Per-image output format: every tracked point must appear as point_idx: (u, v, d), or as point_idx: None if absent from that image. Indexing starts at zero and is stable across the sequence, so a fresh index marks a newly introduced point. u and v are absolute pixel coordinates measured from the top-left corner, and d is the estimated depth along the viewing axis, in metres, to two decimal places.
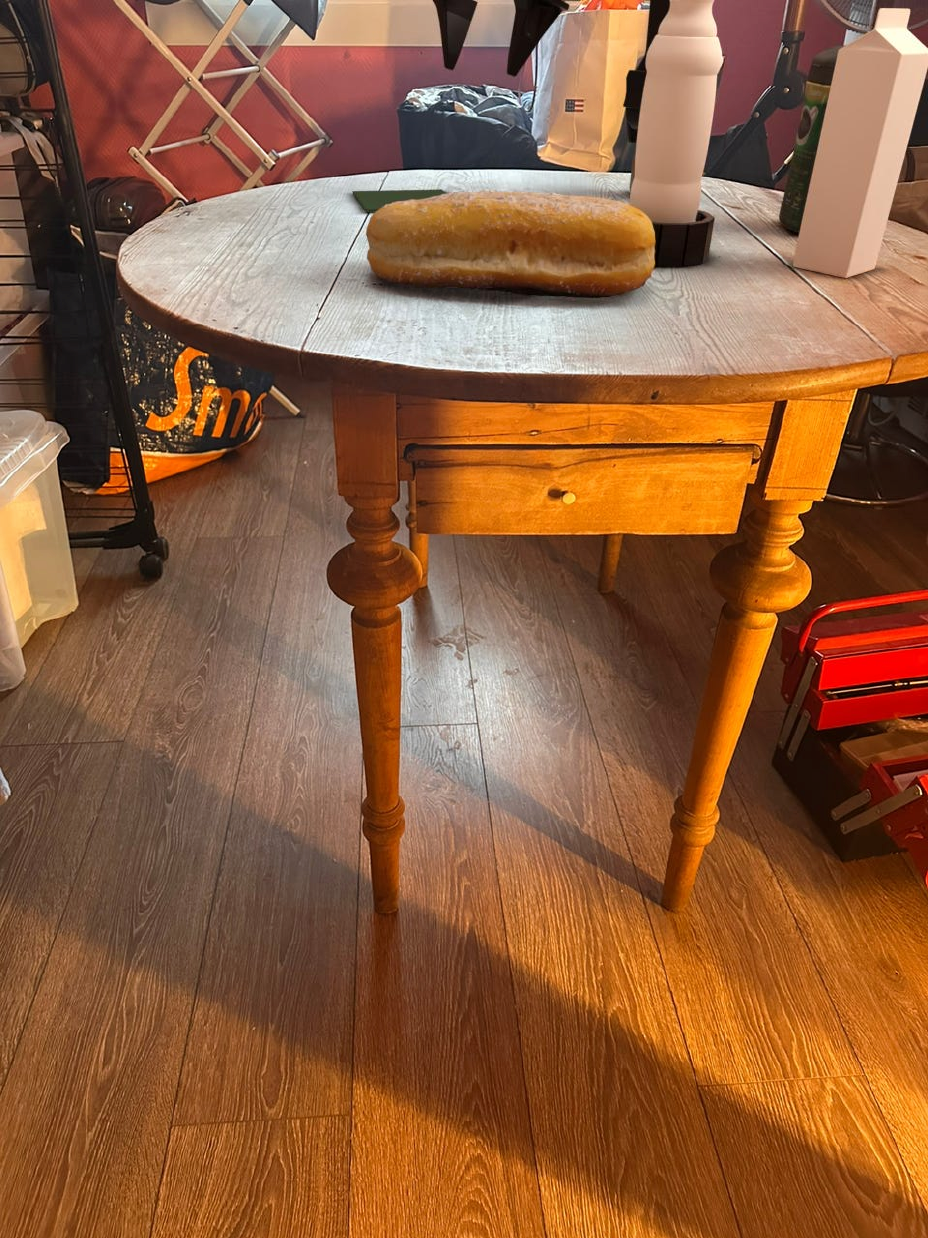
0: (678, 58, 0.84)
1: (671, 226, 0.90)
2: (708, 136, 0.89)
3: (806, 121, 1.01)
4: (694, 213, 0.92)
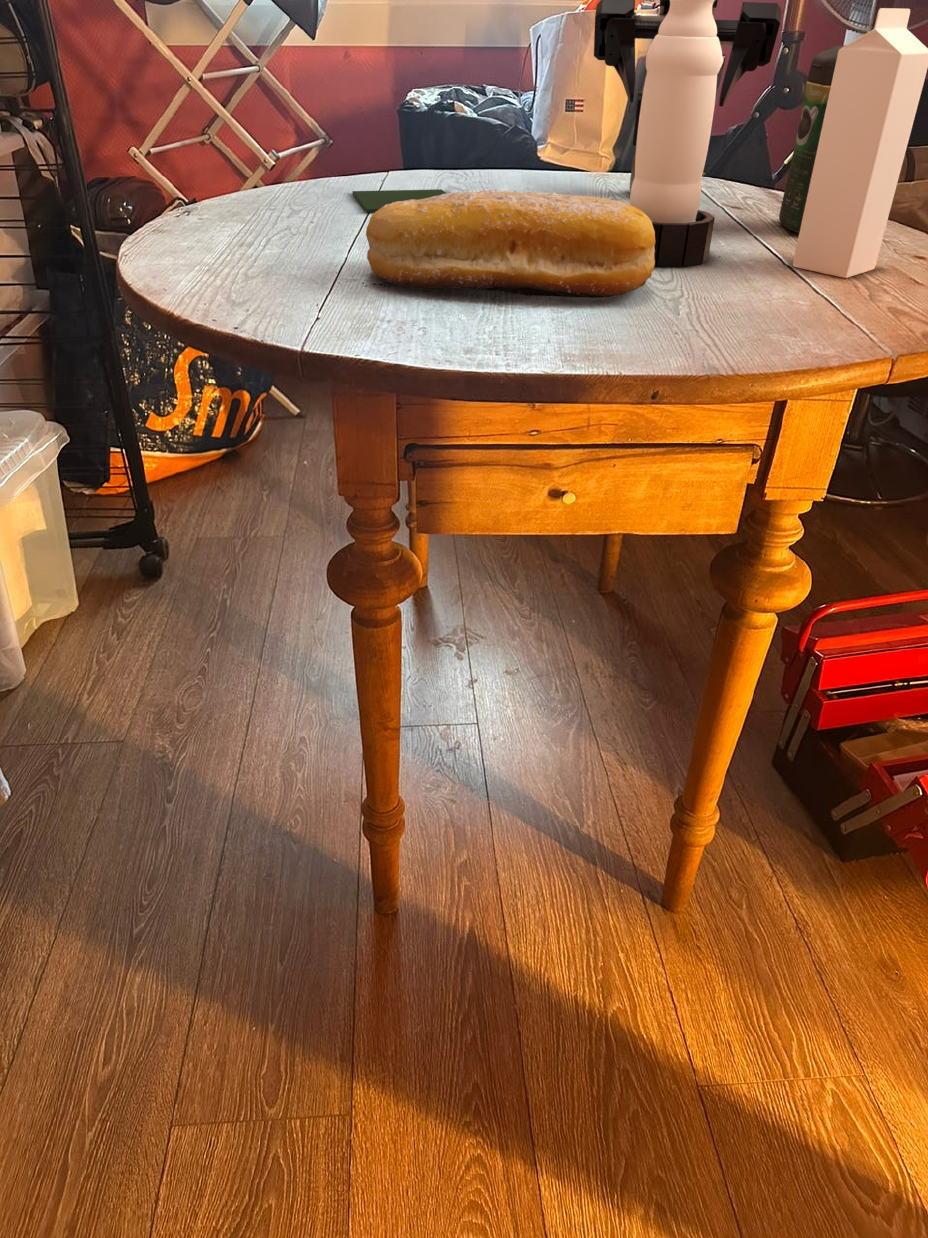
0: (679, 58, 0.84)
1: (671, 226, 0.90)
2: (708, 136, 0.89)
3: (806, 121, 1.01)
4: (694, 213, 0.92)
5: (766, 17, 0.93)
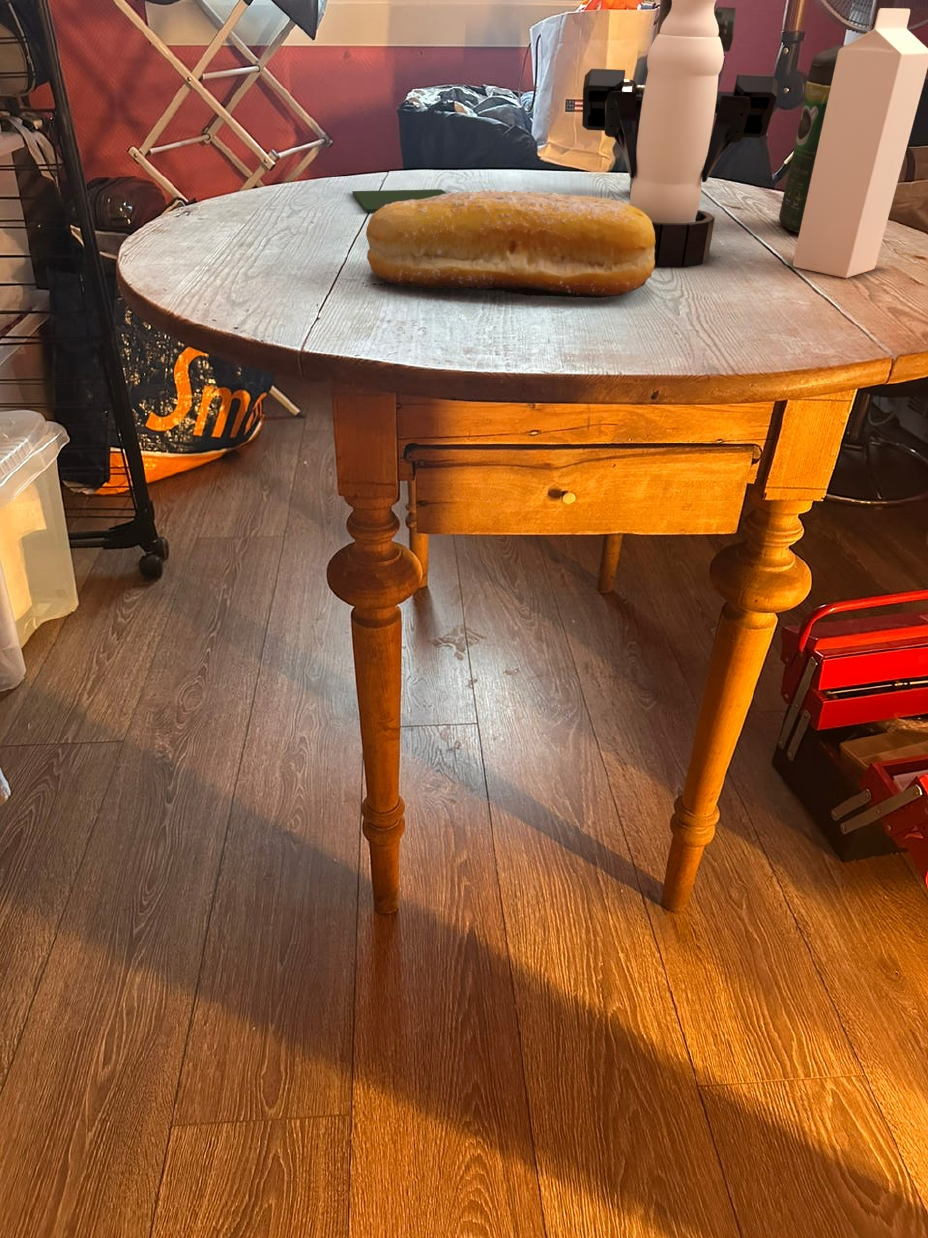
0: (680, 58, 0.84)
1: (671, 226, 0.90)
2: (709, 136, 0.89)
3: (806, 121, 1.01)
4: (694, 213, 0.92)
5: (762, 91, 0.88)
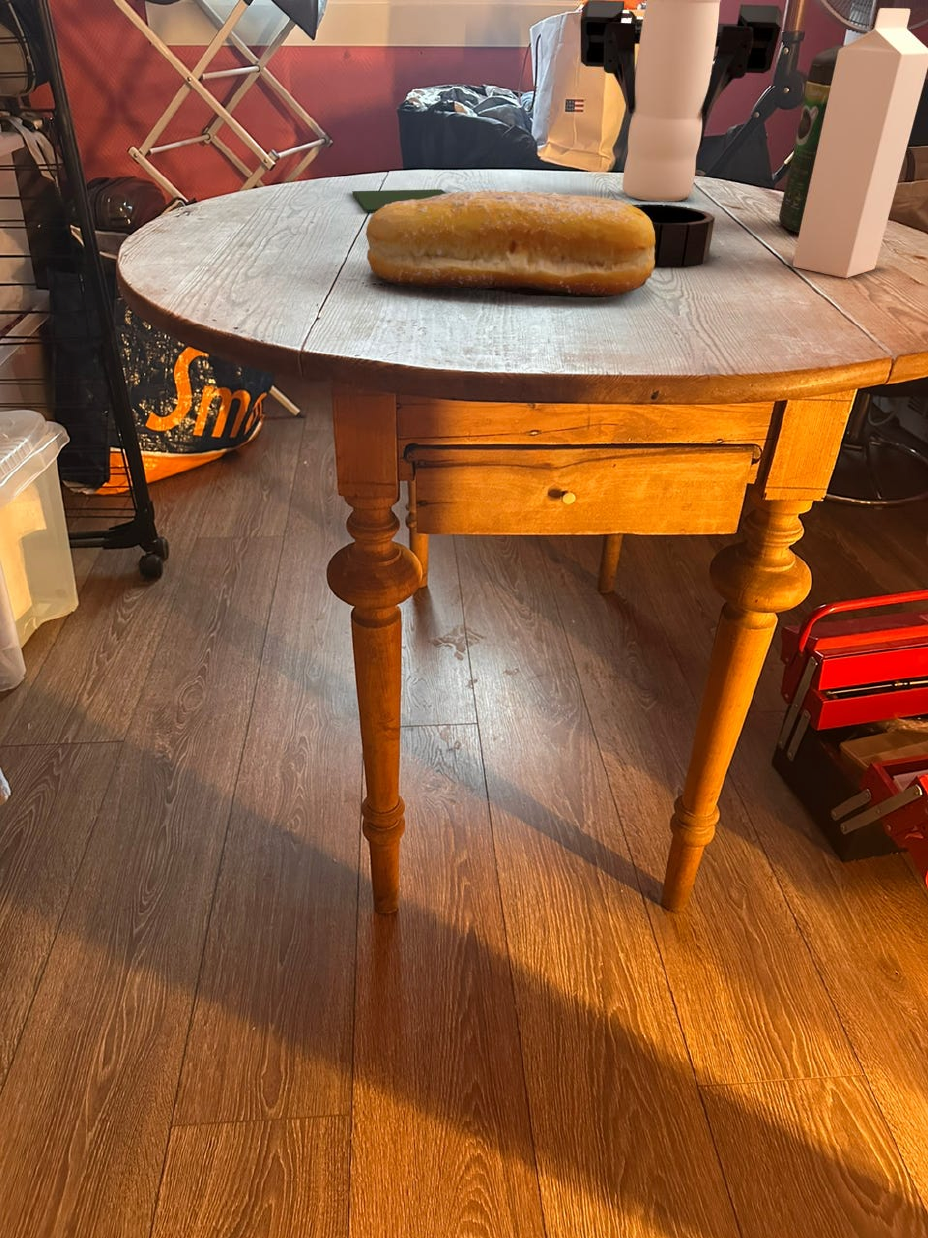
0: None
1: (671, 226, 0.90)
2: (709, 68, 0.86)
3: (806, 121, 1.01)
4: (694, 151, 0.89)
5: (765, 20, 0.85)
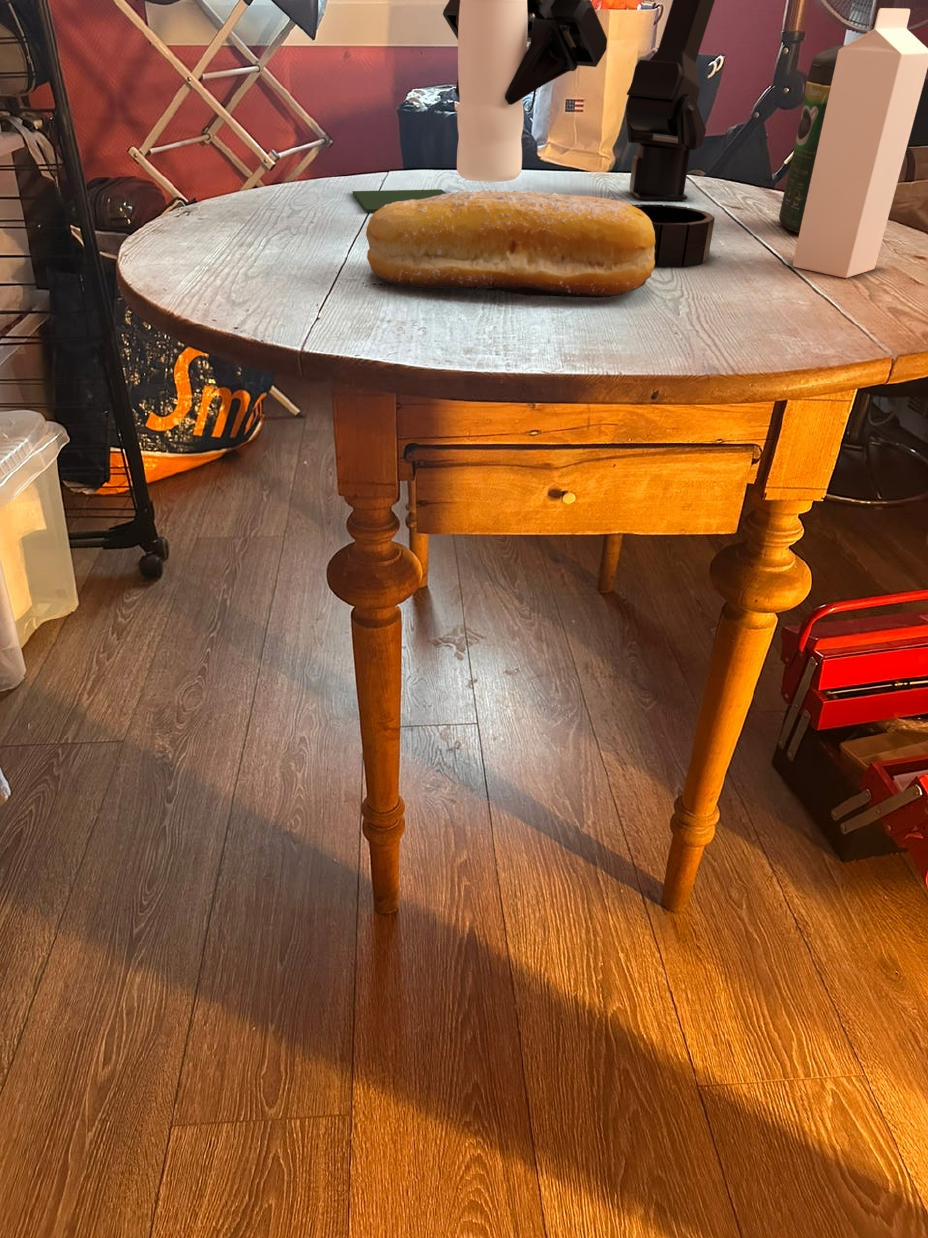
0: None
1: (671, 226, 0.90)
2: (509, 58, 0.92)
3: (806, 121, 1.01)
4: (502, 135, 0.95)
5: (565, 14, 0.89)
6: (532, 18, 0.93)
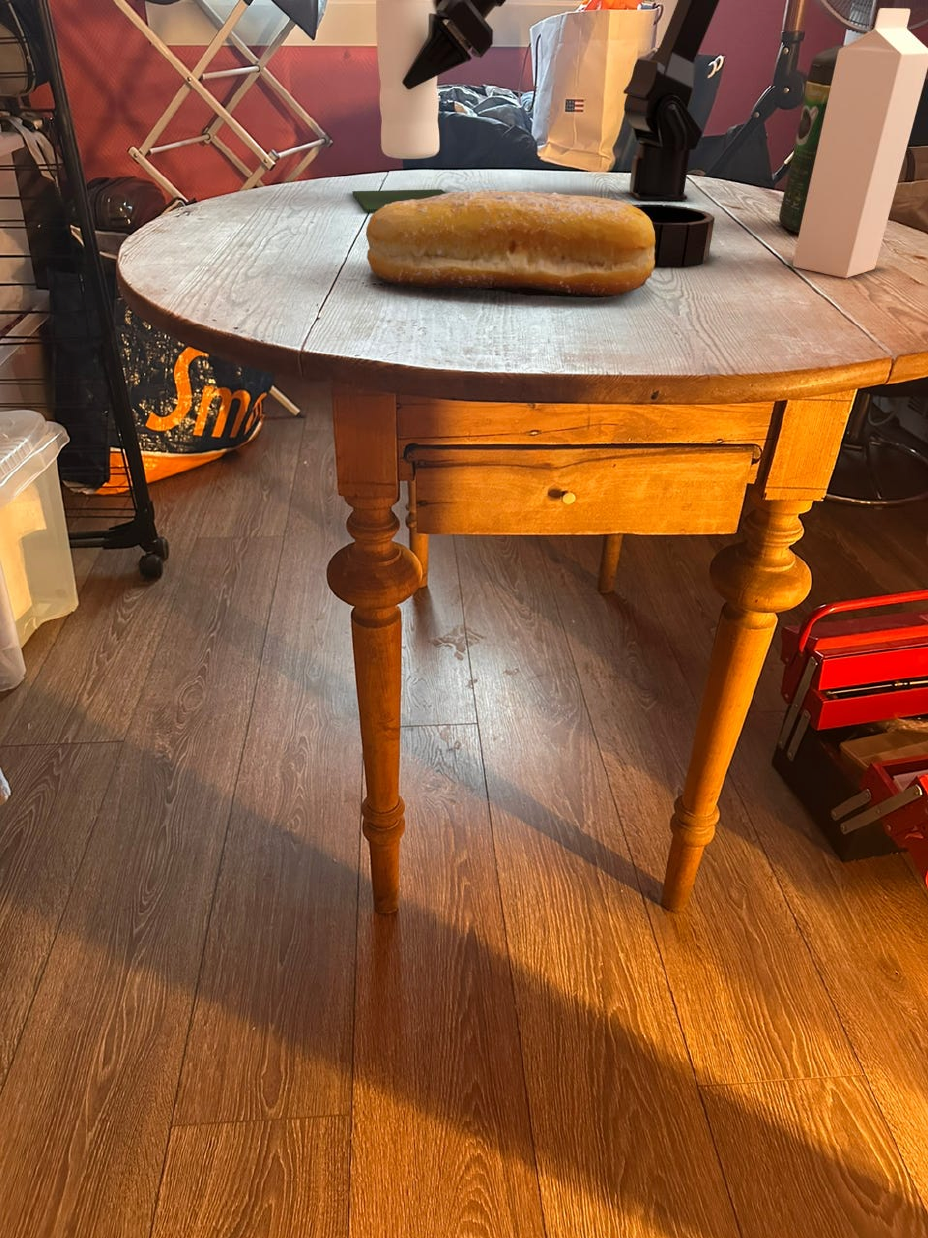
0: None
1: (671, 226, 0.90)
2: (405, 47, 1.03)
3: (806, 121, 1.01)
4: (403, 117, 1.07)
5: (441, 8, 0.98)
6: None
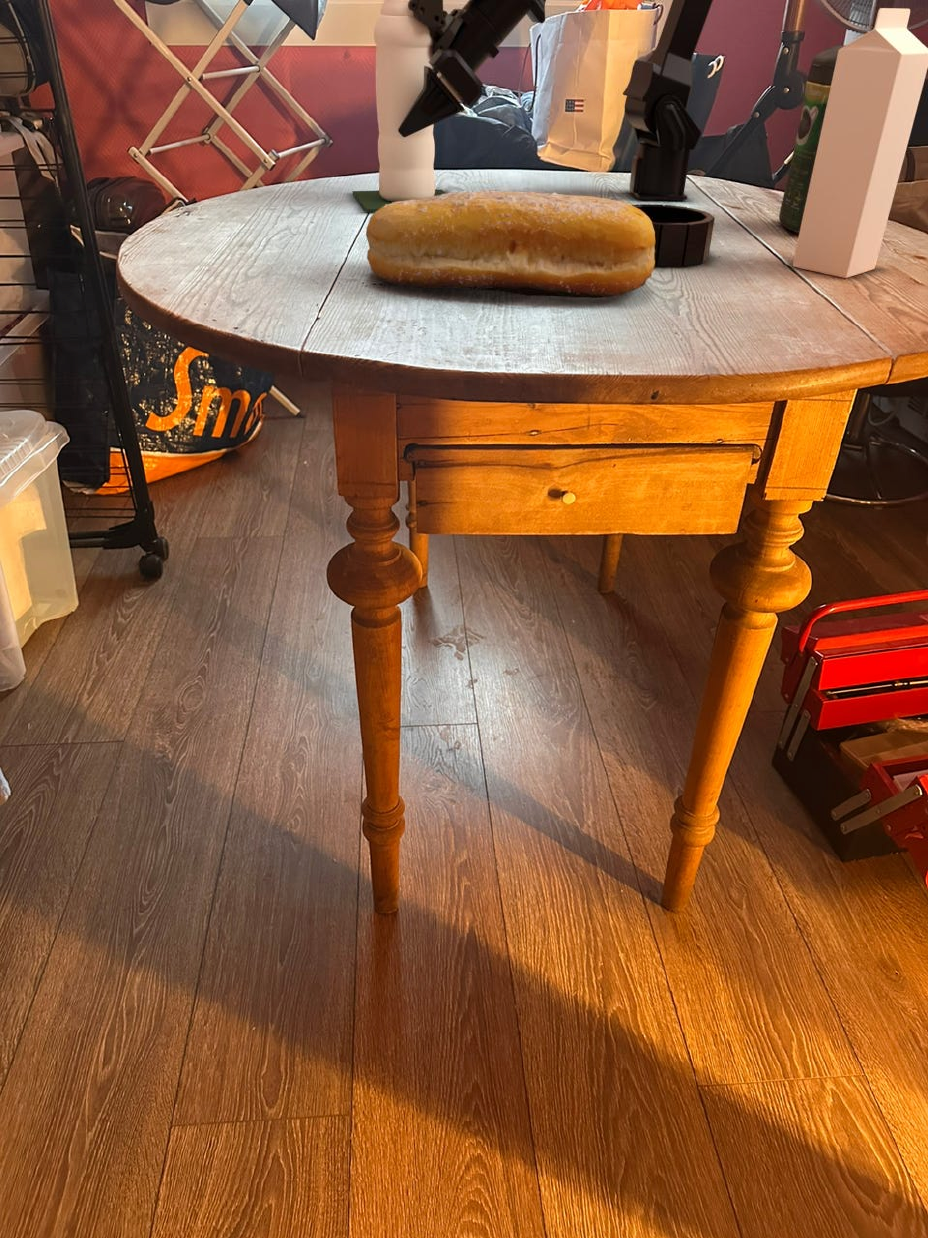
0: (374, 32, 1.06)
1: (671, 226, 0.90)
2: (402, 98, 1.08)
3: (806, 121, 1.01)
4: (399, 163, 1.12)
5: (432, 62, 1.02)
6: None
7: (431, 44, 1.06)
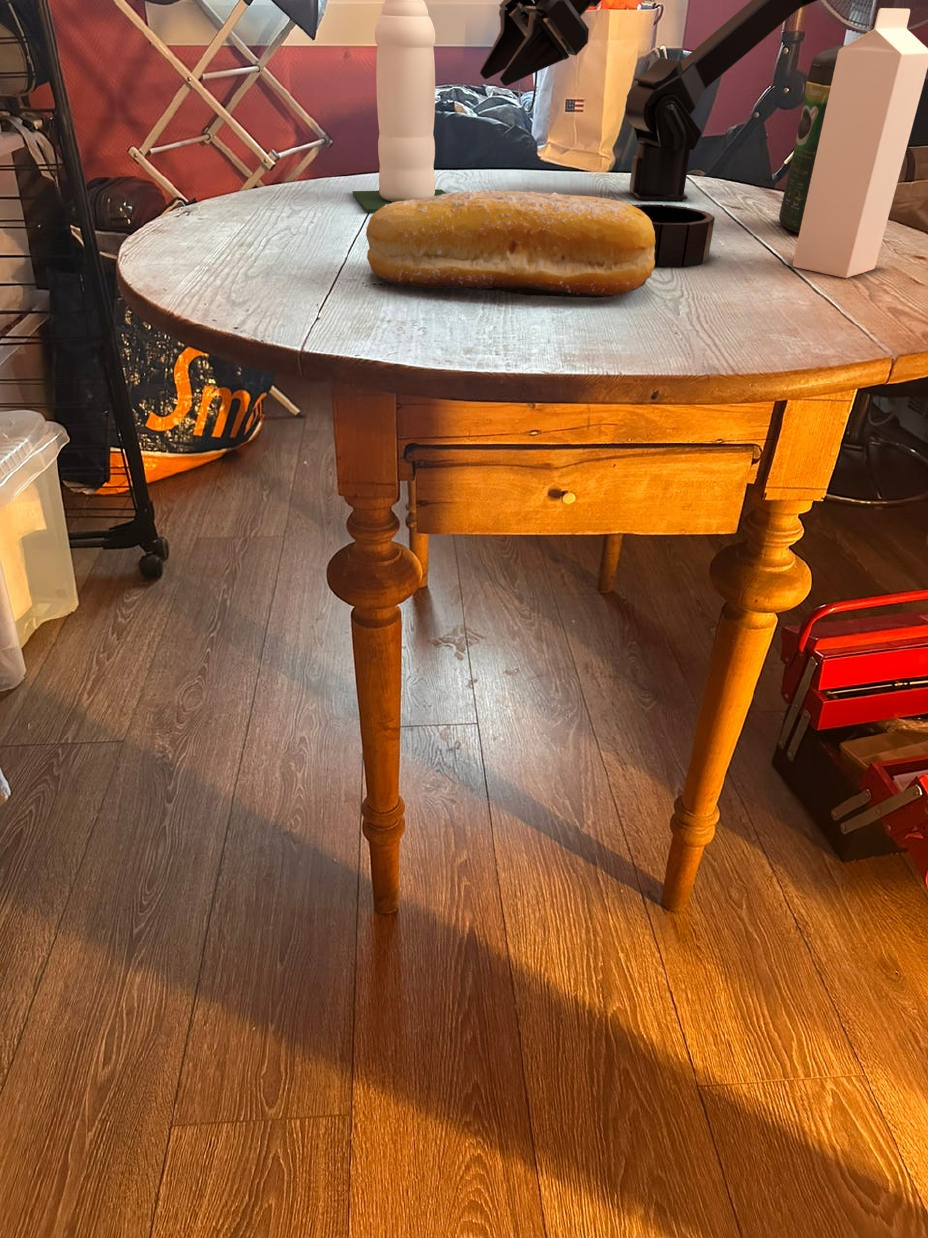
0: (375, 32, 1.06)
1: (671, 226, 0.90)
2: (402, 99, 1.08)
3: (806, 121, 1.01)
4: (399, 163, 1.12)
5: (540, 7, 1.02)
6: (537, 11, 1.08)
7: (432, 44, 1.06)
